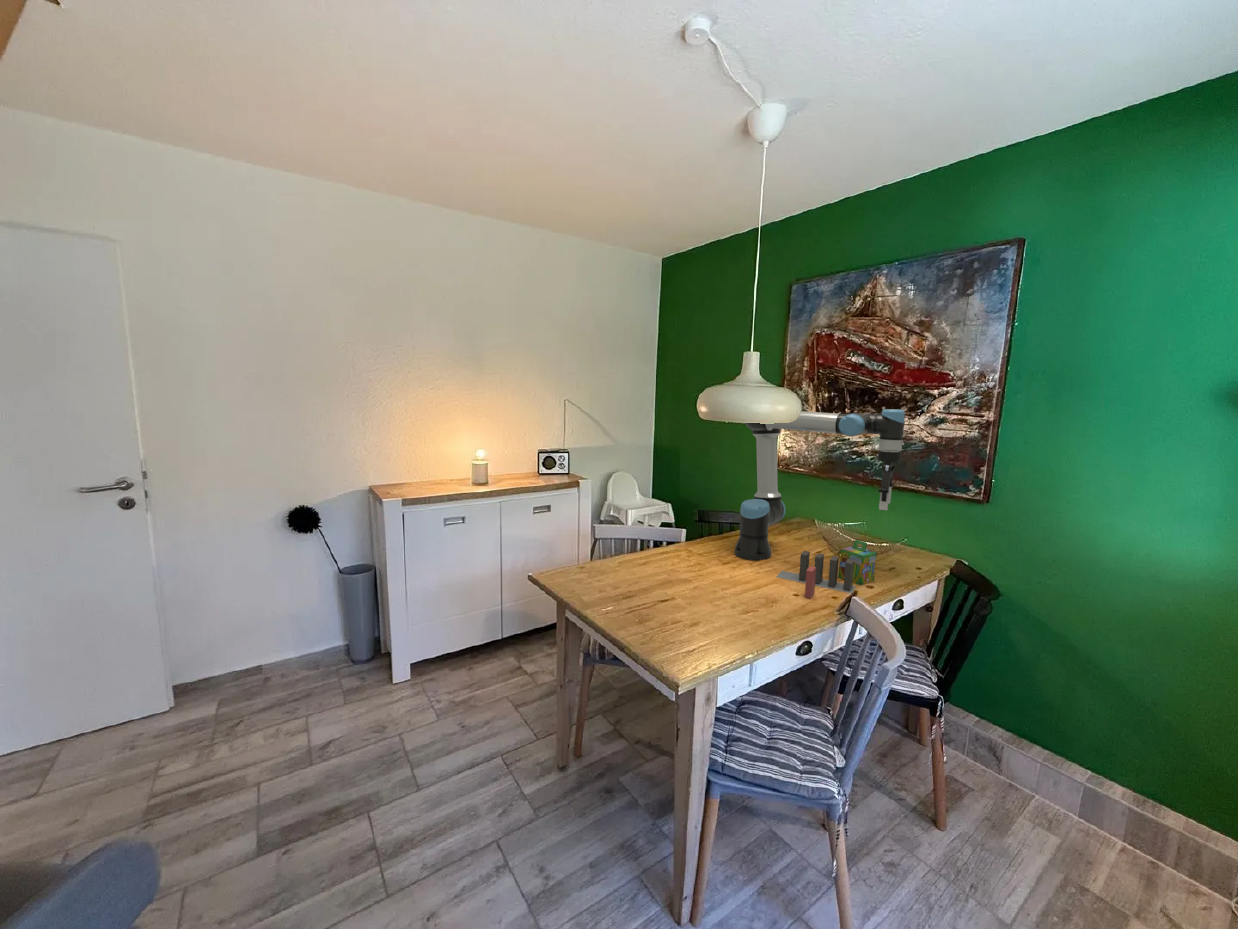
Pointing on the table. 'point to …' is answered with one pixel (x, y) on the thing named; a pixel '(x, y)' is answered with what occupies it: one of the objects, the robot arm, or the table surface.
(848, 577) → the domino
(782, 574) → the mat
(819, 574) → the domino
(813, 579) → the domino
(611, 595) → the table surface
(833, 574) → the domino
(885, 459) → the robot arm
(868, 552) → the chalk box
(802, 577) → the domino
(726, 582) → the table surface
